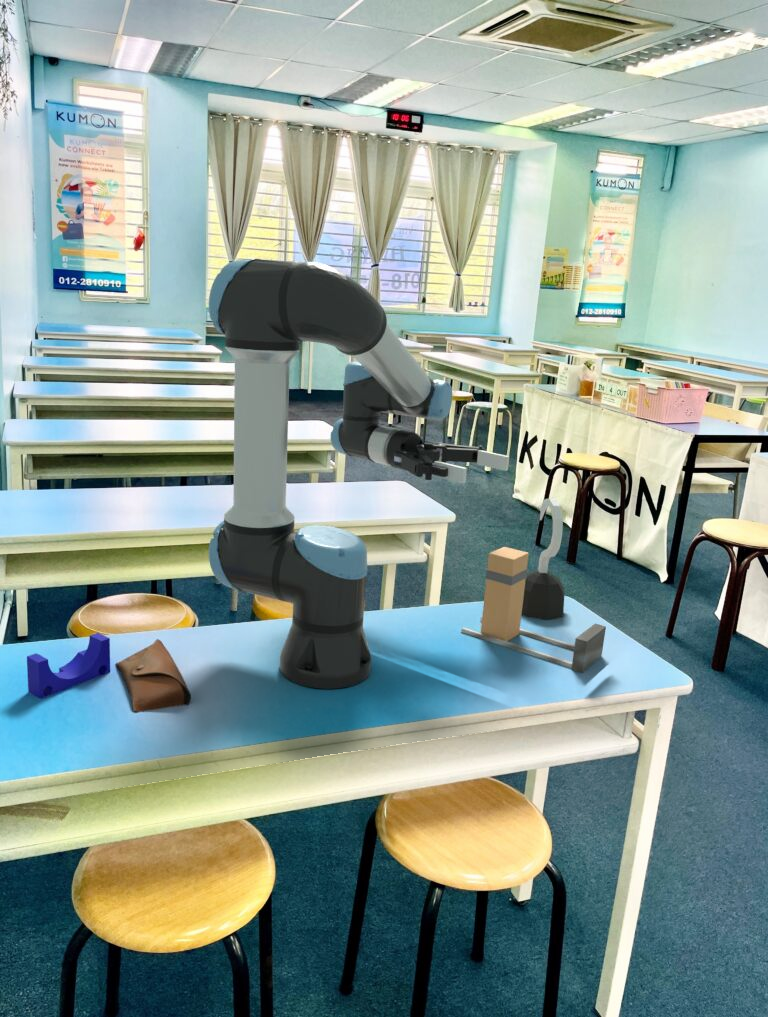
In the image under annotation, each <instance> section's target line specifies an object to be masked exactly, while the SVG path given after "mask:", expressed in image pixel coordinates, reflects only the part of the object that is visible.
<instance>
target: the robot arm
mask: <svg viewBox="0 0 768 1017" xmlns="http://www.w3.org/2000/svg"><path fill="white" fill-rule="evenodd" d="M208 313H209V318H210V320H211V321H212V322H213V323H212V325H213V327H214V329H215V330H216V331H217V332H219V333H220V334H222V335H223V336H224V348H225V350H226V351H227V352H228V354H230V355H231V357H232V358H233V360H234V390H233V391H234V393H233V395H234V402H233V405H234V410H233V414H234V417H233V420H234V421H233V422H234V424H233V505H232V507H231V508H229V509H228V511H226V512H225V513H224V516H223V521H221V522H220V523H218V525H217V526H215V529H214V530H213V533H212V535H213V538H210V540H209V546H208V562H209V567H210V568H211V571H212V574H213V576H214V577H215V578H216V580H217V581H218V582H220V584H222V585H223V586H225V587H226V588H227V587H228V588H230V589H234V590H237V592H240V593H244V594H252V595H256V596H260V597H264V598H268V599H273V600H277V601H281V602H285V603H289V604H292V621H291V622H292V623H291V625H290V628H289V632H288V634H287V636H286V638H285V641H284V643H283V646H282V649H281V652H280V655H279V670H280V672H281V674H282V675H283V677H285V678H286V679H287V680H289V681H291V682H292V683H295V684H297V685H299V686H300V685H301V686H303V687H309V688H313V689H314V688H315V689H325V690H330V689H342V688H347V687H352V686H355V685H357V684H359V683H361V682H363V681H365V680H366V679H367V678H368V677H369V676H370V673H371V671H372V670H371V665H372V655H371V652H370V648H369V644H368V640H367V638H366V637H367V636H366V634H365V629H364V616H365V615H364V613H365V604H366V603H365V600H366V599H365V598H366V588H367V576H368V575H367V574H368V571H369V567H368V549H367V546H366V544H365V542H364V541H363V540H362V539H361V537H359V536H358V535H356V534H355V533H353V532H350V531H348V530H345V529H343V528H340V527H336V526H335V527H334V526H331V525H326V526H323V525H320V524H312V525H305V526H303V527H300V528H298V530H297V531H295V515H294V513H293V512H292V511H291V510H290V509H288V507H287V501H286V500H287V476H288V475H287V474H288V472H287V471H288V467H287V466H288V440H289V439H288V433H289V431H288V430H289V397H290V393H289V392H290V367H291V366H290V365H291V361H292V360H293V359H294V358H295V357H296V356H297V354H299V353H300V348H301V347H300V345H301V342H310V343H319V344H325V345H329V346H332V347H334V348H335V349H336V350H337V351H339V352H340V353H342V354H343V355H346V356H349V357H350V356H352V357H353V358H354V359H355V360H356V361H350V362H349V363H347V364H346V365H345V367H344V378H343V379H344V380H343V384H342V385H343V405H342V406H343V414H342V415H343V416H342V418H340V419H337V421H336V422H334V424H333V426H332V427H333V429H332V431H331V432H330V443H331V446H332V448H333V449H334V451H336V452H338V453H340V454H342V455H344V456H348V458H349V457H350V458H352V459H360V460H363V461H368V462H372V463H377V464H379V465H382V467H383V468H387V467H388V466H389V467H392V468H395V469H399V470H402V471H407V472H409V473H410V474H412V475H413V476H415V477H418V478H422V477H424V480H426V481H431V480H433V479H432V478H433V477H434V478H438V479H443V480H447V481H451V482H455V483H459V484H466V482H467V472H468V470H467V469H468V468H467V467H463V466H461V465H455V464H451V463H447V462H457V463H458V462H459V463H476V465H479V466H482V467H486V468H491V469H494V470H495V469H497V470H499V471H502V472H503V471H504V472H506V471H509V463H510V456H509V455H505V454H500V453H495V452H492V451H491V452H490V451H486V450H485V447H483V445H478V446H472V445H471V446H470V445H462V444H461V445H460V444H451V443H444V442H440V441H437V442H435V443H434V444H433V443H432V442H423V440H422V438H421V436H420V435H419V434H418V433H416V432H413V431H409V430H404V429H400V428H396V427H391V426H386V425H381V424H380V420H381V413H382V414H384V413H385V414H391V415H392V414H393V415H397V416H398V415H399V416H406V417H414V418H421V419H427V420H444V419H445V418H447V416H448V415H449V413H450V411H451V407H452V403H453V388H452V385H451V384H450V383H449V381H446V380H443V379H442V380H441V379H438V378H435V379H432V378H431V377H430V376H429V375H428V374H427V373H426V372H425V370H424V369H423V367H422V366H421V365H420V364H419V363H418V361H417V360H416V359H415V357H414V356H413V355H412V354H411V353H410V351H409V350H408V348H407V347H406V346H405V345H404V344H403V342H402V341H401V340H400V339H399V337H398V336H397V335H396V333H395V332H394V330H393V329H391V327H390V326H389V325H388V316H387V313H386V310H385V309H384V308H383V307H382V305H381V303H379V301H378V300H377V299H376V298H375V296H373V295H372V294H371V292H369V291H368V290H367V289H366V288H365V287H364V286H363V285H361V284H360V283H359V282H358V281H356V280H355V279H353V278H351V277H350V276H348V275H347V274H346V273H344V272H343V271H340V270H339V269H336V268H334V267H333V266H330V265H328V264H324V263H321V262H317V261H295V260H293V261H292V260H291V261H290V260H273V259H261V258H251V259H248V258H247V259H238V260H237V259H236V260H233V261H231V262H229V263H227V264H225V265H224V266H223V267H222V268H221V269H220V272H219V273H217V274H216V276H215V278H214V280H213V282H212V284H211V288H210V290H209V297H208ZM440 457H441V459H440ZM424 475H425V476H424Z"/></svg>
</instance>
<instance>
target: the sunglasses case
mask: <svg viewBox="0 0 768 1017" xmlns="http://www.w3.org/2000/svg"><path fill="white" fill-rule="evenodd" d="M115 666H116V668H117V670H119V672H120V673H121V675H122V677H123V680H124V682H125V685H126V688H127V691H128V693H129V696H130V699H131V705H132V711H133V713H141V712H146V711H152V710H159V709H166V708H171V707H173V708H174V707H179V706H184V705H186V706H188V705H189V704H190V703H191V700H192V695H191V692H190V690H189V688H188V686H187V683H186V681H185V679H184V677H183V675H182V674H181V671H180V670H179V668H178V666H177V664H176V663H175V661H174V658H173V657H172V655H171V653H170V652H169V651H168V649H167V648H166V646H165V645H164V643H163V642H162V641H161V639H158V638H157V639H156V640H155V641H154V642H153V643H152V644H151V645H149V646H147V647H144V648H143V649H141V650H139V651H136V652H135V653H133V654H131V655H129V656H128V657H126V658H124V659H122V660H121V661H119V662H116V663H115Z"/></svg>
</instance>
